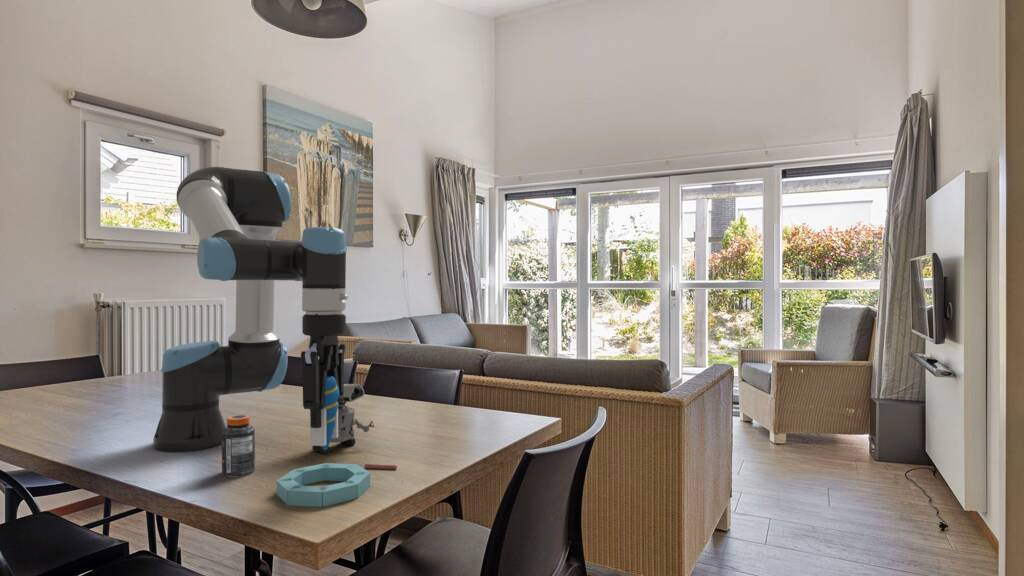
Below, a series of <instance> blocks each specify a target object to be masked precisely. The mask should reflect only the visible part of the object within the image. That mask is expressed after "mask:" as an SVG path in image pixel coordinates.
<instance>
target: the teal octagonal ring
mask: <svg viewBox="0 0 1024 576" xmlns="http://www.w3.org/2000/svg"><path fill="white" fill-rule="evenodd" d="M325 481H334V482H337V483H333V484H330V485H324V486H318V485H317V486H316V485H315V486H313V485H311V484H315V483H319V482H325ZM370 487H371V472H370V471H369V470H367V469H366V468H365V467H364V468H363V467H362V466H361V465H359V464H357V463H356V464H355V463H336V462H335V463H331V462H324V463H320V464H315V465H309V466H305V467H300V468H294V469H291V470H290V471H289V472H287V473H285V474H284V475H283V476H281V477H280V478H278V479H277V480H276V496H277V497H279V498H280V499H281V501H283V502H284V503H285V504H286V505H287V506H296V507H297V506H300V507H314V508H317V507H319V508H323V507H328V506H332V505H336V504H337V505H338V504H340V503H344V502H349V501H352V500H357V499H358V498H360V497H361V496H362V494H364V493H365V492H366V491H367V490H368V489H369V488H370Z"/></svg>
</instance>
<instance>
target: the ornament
mask: <svg viewBox="0 0 1024 576" xmlns="http://www.w3.org/2000/svg"><path fill="white" fill-rule="evenodd" d="M338 398H339V388H338V385H337V383H336V380H335V378H334V377H333V376H327V377H326V383H325V399H324V408H326V445H325V446H322V448H323V450H327V449H328V446H329V447H330V444H331V442H330V440H331V438H332V435H333V430H334V427H335V422H336V419H335V415H336V412H337V409H338V403H337V400H338Z"/></svg>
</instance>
